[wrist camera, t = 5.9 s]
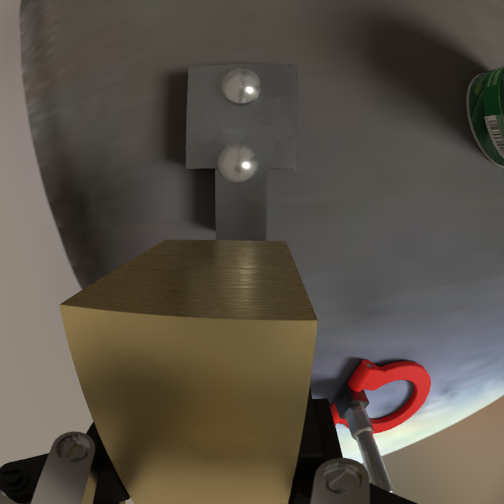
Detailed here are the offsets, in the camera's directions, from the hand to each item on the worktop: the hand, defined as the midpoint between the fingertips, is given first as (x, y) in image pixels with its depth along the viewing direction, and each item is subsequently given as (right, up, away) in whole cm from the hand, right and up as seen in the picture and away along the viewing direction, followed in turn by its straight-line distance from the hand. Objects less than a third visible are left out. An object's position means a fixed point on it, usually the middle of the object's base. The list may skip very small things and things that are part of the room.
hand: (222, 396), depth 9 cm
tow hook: (+12, -8, +13) cm, 19 cm away
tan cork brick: (0, 0, +2) cm, 2 cm away
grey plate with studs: (0, +3, +10) cm, 11 cm away
